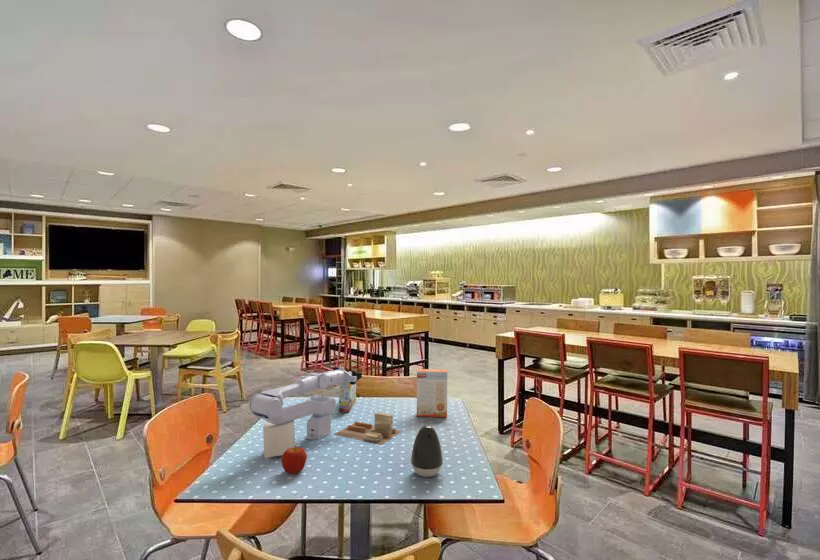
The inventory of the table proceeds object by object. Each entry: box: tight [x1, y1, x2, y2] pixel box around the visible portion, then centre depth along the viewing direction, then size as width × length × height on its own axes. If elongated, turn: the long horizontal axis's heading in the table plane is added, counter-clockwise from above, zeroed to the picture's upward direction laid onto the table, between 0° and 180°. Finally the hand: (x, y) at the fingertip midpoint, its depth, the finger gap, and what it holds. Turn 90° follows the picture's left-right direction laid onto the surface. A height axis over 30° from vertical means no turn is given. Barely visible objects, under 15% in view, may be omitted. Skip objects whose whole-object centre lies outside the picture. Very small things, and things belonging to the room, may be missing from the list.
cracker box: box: [416, 368, 448, 418], centre depth 192 cm, size 14×6×21 cm, turn 84°
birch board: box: [374, 412, 394, 435], centre depth 165 cm, size 2×7×8 cm, turn 64°
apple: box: [280, 446, 308, 475], centre depth 133 cm, size 8×8×8 cm
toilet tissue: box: [262, 420, 296, 459], centre depth 148 cm, size 11×12×10 cm
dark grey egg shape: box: [410, 425, 444, 478], centre depth 133 cm, size 10×10×15 cm
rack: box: [333, 421, 403, 446], centre depth 165 cm, size 16×22×3 cm
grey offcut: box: [364, 436, 383, 443], centre depth 159 cm, size 4×6×1 cm, turn 64°
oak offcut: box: [365, 432, 382, 439], centre depth 159 cm, size 4×5×1 cm
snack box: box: [338, 371, 357, 414], centre depth 205 cm, size 21×6×15 cm, turn 179°
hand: (354, 373), depth 182 cm, fingers open, 7 cm apart
